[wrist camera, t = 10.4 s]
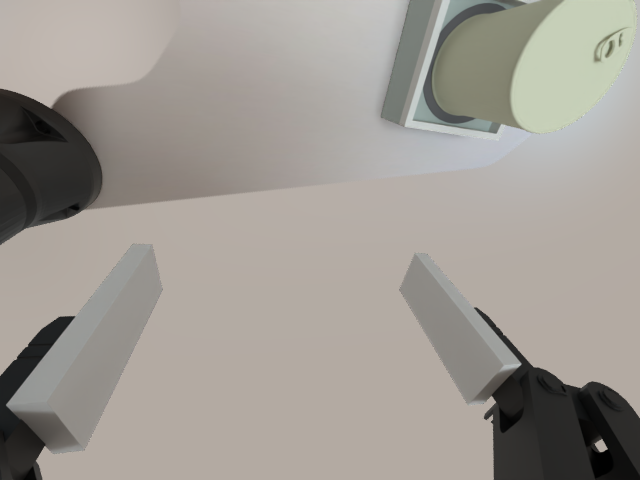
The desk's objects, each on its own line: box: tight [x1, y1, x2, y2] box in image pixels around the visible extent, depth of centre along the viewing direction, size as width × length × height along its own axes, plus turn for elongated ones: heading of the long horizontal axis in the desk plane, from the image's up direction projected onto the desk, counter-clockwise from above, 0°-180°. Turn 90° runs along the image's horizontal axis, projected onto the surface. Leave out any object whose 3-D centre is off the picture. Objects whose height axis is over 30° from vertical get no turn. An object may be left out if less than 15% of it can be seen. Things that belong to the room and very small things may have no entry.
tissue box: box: [381, 0, 540, 141], centre depth 30 cm, size 13×13×8 cm
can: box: [431, 0, 637, 133], centre depth 23 cm, size 9×9×12 cm
